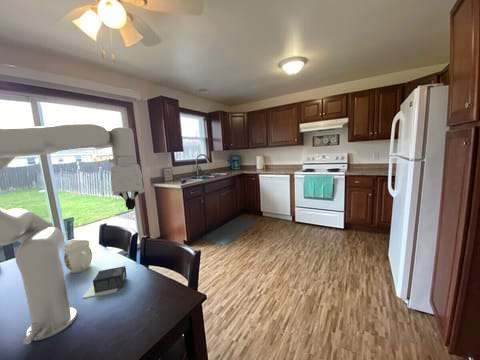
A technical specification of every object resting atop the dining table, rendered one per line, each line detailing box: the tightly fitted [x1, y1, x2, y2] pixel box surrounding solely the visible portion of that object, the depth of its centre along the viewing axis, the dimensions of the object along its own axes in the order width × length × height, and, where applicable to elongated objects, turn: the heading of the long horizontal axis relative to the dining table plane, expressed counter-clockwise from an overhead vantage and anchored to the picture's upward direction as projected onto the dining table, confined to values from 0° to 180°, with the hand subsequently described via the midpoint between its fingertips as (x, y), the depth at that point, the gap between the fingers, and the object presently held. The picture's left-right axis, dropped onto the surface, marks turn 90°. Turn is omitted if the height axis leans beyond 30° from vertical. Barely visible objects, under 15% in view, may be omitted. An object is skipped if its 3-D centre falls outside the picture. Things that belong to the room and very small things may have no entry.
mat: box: [82, 283, 119, 299], centre depth 89 cm, size 12×12×1 cm
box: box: [92, 265, 128, 293], centre depth 89 cm, size 8×6×11 cm
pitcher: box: [62, 239, 93, 274], centre depth 103 cm, size 11×18×14 cm, turn 57°
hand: (131, 208), depth 79 cm, fingers closed
